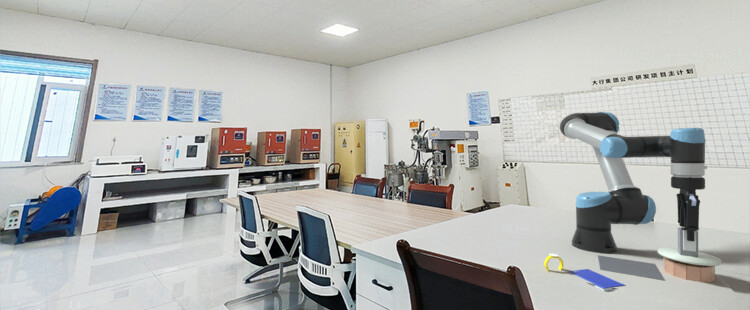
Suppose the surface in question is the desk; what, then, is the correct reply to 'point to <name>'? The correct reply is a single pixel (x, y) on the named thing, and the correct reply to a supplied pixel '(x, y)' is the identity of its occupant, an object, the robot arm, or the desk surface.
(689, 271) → the bowl
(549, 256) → the yellow curved ring
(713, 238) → the desk surface
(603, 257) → the mat
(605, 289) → the hard drive
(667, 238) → the desk surface
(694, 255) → the lid
